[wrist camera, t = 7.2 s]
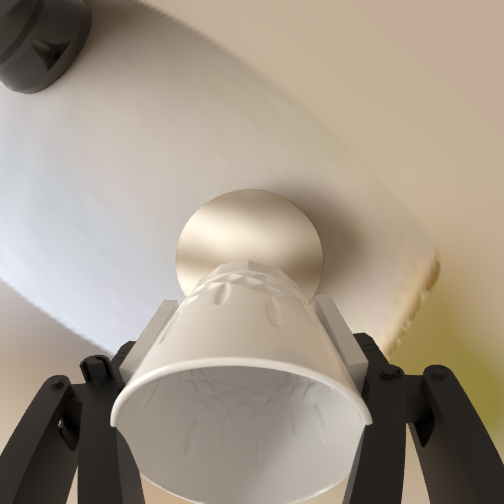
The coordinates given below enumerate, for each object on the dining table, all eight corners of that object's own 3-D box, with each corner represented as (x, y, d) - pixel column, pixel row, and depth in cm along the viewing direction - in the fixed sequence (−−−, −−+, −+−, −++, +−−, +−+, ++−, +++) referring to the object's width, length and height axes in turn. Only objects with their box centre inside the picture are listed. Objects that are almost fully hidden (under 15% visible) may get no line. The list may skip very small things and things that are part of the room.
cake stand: (183, 192, 30) (168, 195, 24) (310, 185, 29) (322, 187, 24) (195, 309, 33) (185, 332, 28) (311, 304, 33) (320, 327, 27)
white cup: (175, 246, 16) (79, 340, 6) (322, 250, 16) (408, 352, 6) (184, 367, 18) (141, 497, 8) (307, 371, 18) (339, 505, 8)
